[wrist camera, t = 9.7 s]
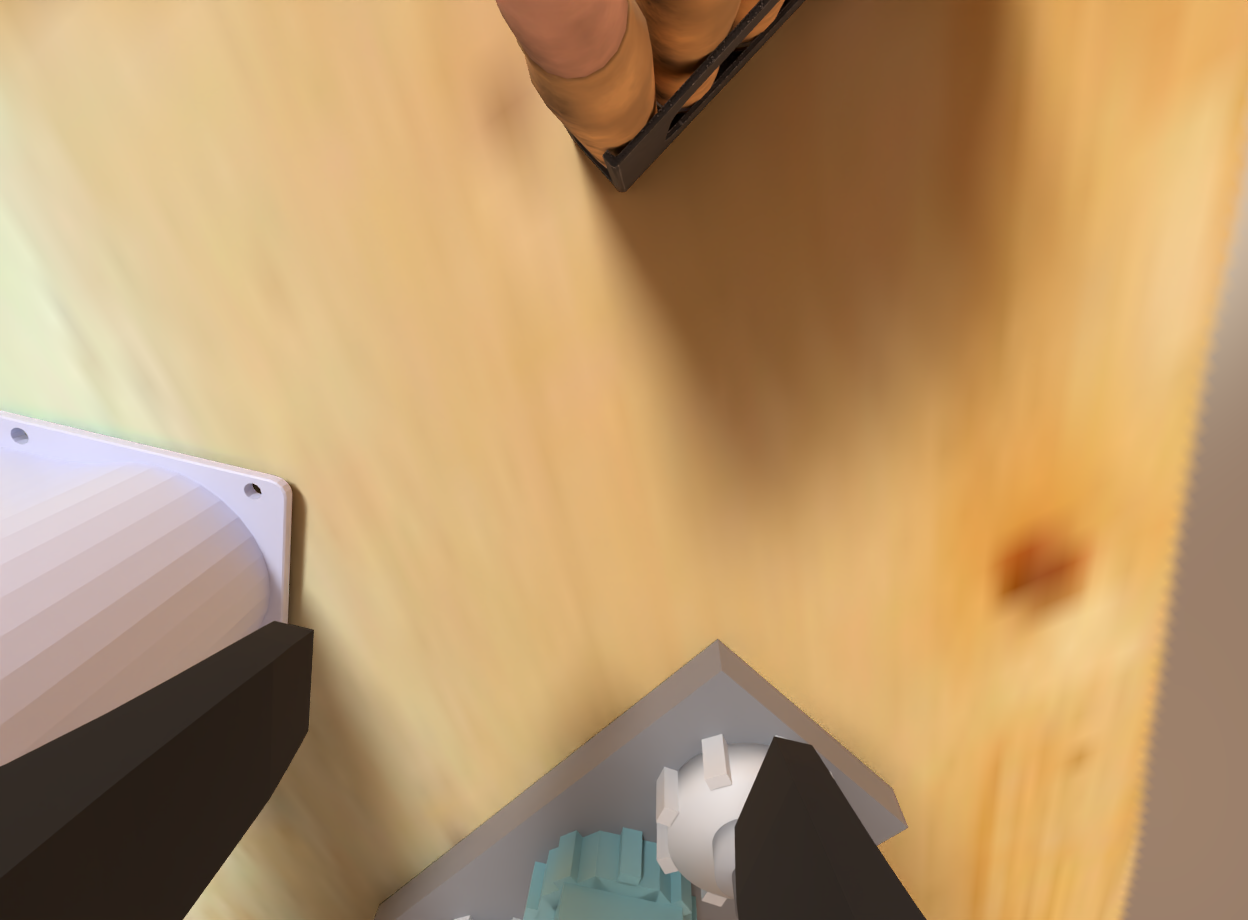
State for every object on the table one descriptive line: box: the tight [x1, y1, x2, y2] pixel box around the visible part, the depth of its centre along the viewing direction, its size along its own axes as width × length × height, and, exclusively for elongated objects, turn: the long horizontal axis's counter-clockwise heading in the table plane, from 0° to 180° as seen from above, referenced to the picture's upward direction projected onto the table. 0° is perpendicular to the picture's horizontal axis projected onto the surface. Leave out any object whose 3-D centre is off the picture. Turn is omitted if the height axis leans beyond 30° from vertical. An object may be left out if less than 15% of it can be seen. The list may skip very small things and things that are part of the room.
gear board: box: [374, 639, 908, 920], centre depth 21 cm, size 20×9×5 cm, turn 137°
